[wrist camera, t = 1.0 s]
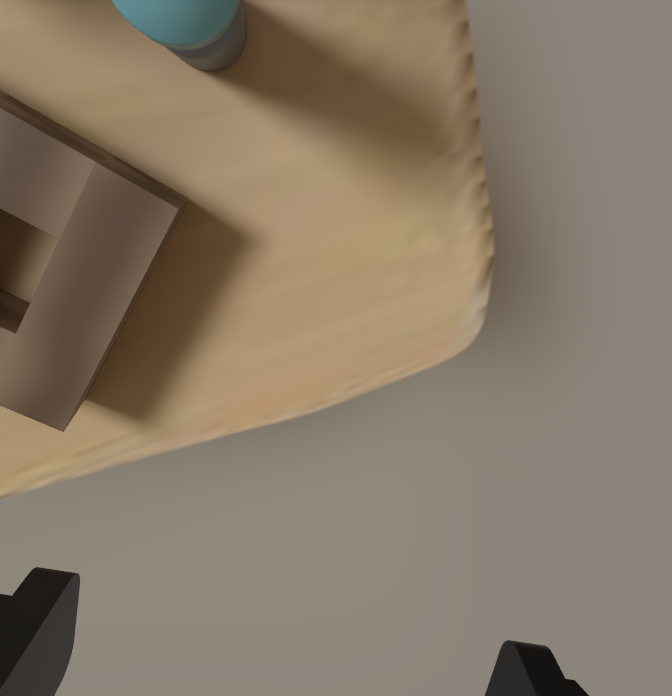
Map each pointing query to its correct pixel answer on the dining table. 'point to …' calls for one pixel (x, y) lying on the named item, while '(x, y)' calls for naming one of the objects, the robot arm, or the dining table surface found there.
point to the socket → (72, 259)
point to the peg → (192, 28)
